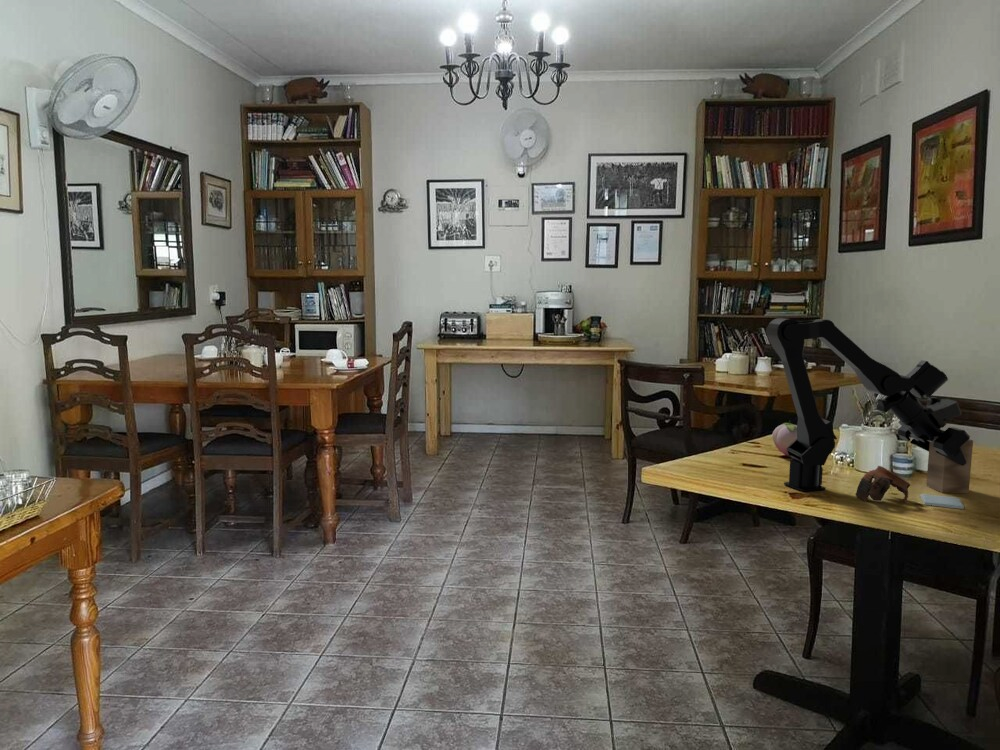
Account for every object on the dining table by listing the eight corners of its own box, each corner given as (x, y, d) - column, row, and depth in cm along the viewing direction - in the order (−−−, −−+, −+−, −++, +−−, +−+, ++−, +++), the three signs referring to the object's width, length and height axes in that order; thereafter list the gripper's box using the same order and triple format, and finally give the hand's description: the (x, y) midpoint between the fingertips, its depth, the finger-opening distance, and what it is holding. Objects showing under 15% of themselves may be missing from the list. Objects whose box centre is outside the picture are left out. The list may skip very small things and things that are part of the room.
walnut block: (941, 492, 162) (946, 440, 160) (926, 485, 168) (930, 434, 166) (968, 493, 162) (973, 440, 160) (952, 486, 168) (956, 435, 166)
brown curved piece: (853, 493, 162) (874, 463, 161) (894, 519, 158) (916, 487, 157) (848, 491, 152) (871, 459, 151) (892, 519, 147) (916, 485, 146)
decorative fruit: (811, 460, 192) (813, 423, 191) (781, 460, 192) (783, 423, 191) (796, 452, 202) (798, 417, 201) (767, 452, 202) (769, 417, 200)
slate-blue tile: (924, 504, 152) (924, 501, 152) (920, 496, 158) (920, 493, 158) (963, 509, 149) (963, 506, 149) (957, 500, 156) (958, 497, 156)
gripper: (964, 393, 153) (1011, 445, 154) (914, 382, 171) (956, 428, 173) (924, 429, 154) (971, 480, 155) (878, 414, 172) (921, 460, 174)
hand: (955, 460), depth 164 cm, fingers closed on walnut block, 6 cm apart
